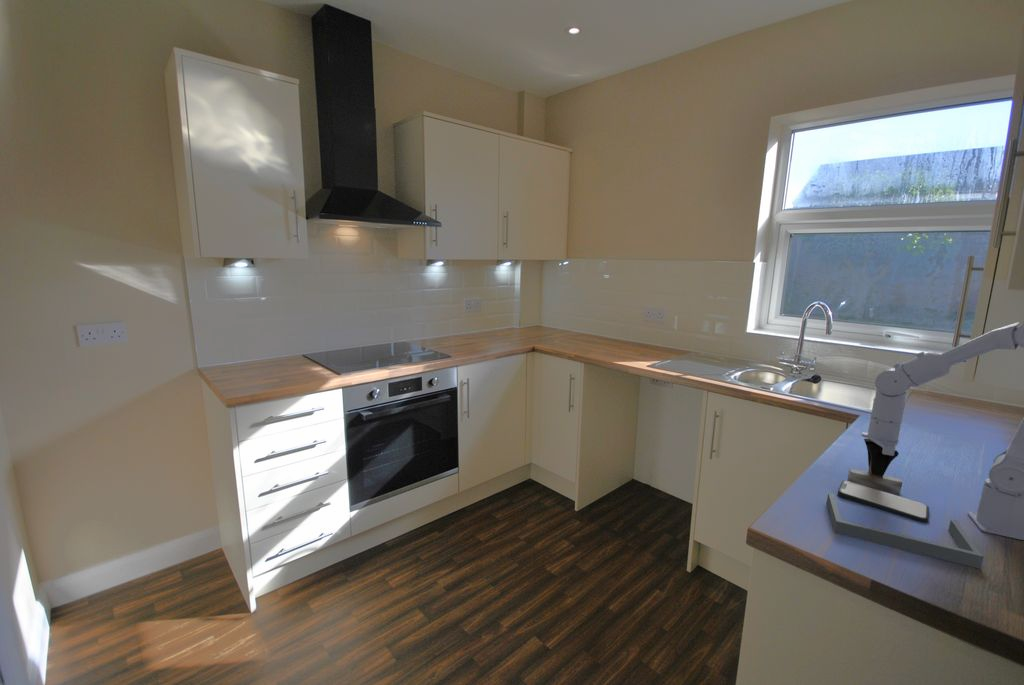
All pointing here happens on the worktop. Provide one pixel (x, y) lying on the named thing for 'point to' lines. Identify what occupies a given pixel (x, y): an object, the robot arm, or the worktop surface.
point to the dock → (910, 539)
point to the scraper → (875, 480)
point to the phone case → (884, 501)
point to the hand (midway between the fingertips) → (875, 472)
